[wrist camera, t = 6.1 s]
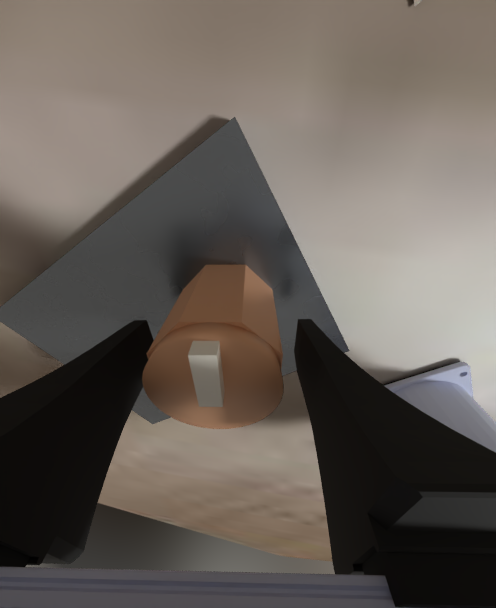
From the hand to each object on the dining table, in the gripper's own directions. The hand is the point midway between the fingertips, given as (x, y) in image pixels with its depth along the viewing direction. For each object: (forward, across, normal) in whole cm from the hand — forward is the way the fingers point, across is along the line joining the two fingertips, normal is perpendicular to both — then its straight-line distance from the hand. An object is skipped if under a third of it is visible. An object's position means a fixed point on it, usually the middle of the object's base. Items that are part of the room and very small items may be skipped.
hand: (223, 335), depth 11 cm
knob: (+3, 0, 0) cm, 3 cm away
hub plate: (+4, +4, +2) cm, 5 cm away
